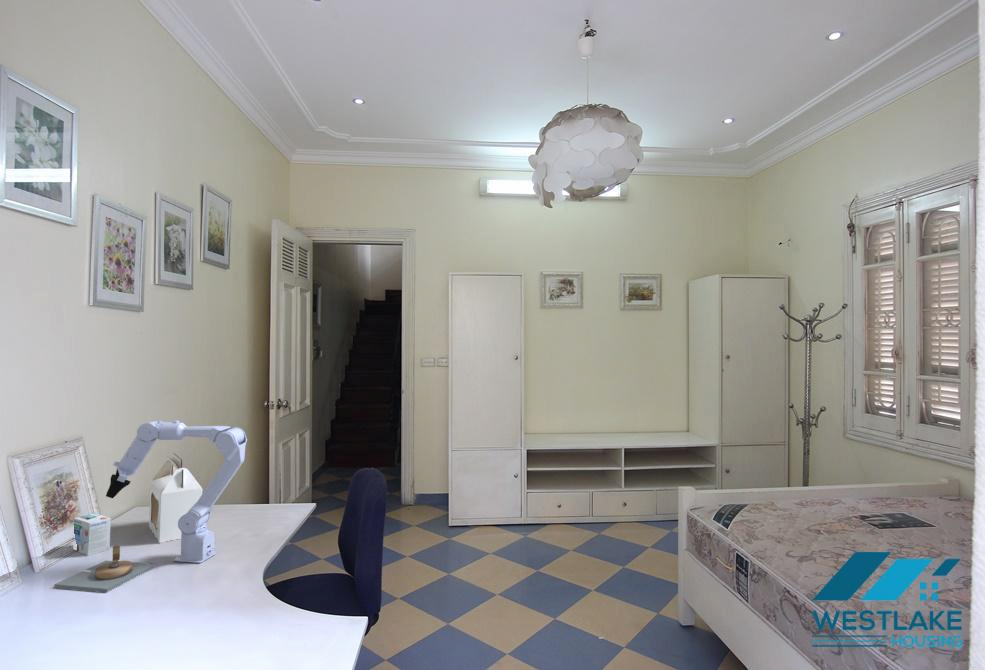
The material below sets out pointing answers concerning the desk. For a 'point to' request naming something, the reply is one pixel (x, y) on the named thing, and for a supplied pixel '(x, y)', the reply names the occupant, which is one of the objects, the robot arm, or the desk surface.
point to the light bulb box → (92, 533)
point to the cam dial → (114, 567)
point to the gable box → (171, 498)
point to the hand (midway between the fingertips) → (112, 491)
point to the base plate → (90, 583)
